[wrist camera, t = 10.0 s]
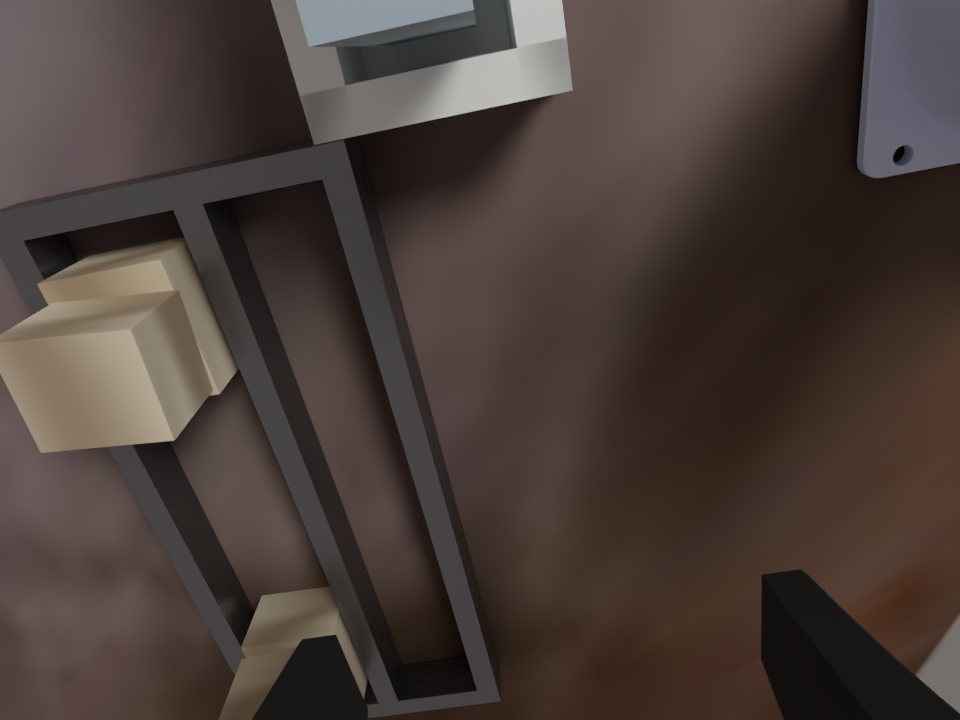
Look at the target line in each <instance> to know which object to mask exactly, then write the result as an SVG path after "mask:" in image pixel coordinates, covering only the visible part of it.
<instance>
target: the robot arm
mask: <svg viewBox="0 0 960 720" xmlns="http://www.w3.org/2000/svg"><path fill="white" fill-rule="evenodd" d="M901 146H904V150H905V152H904V155H903V157H902V158H901V159H900V160H899V161H898V162H895V163H894V162H893V155H894V152H895V151H896V150H897V149H898V148H899V147H901ZM957 163H960V0H868V12H867V26H866V40H865V54H864V68H863V82H862V96H861V110H860V124H859V138H858V152H857V165H858V169H859V170H860V172H861V173H862V174H864V175H866V176H869V177H872V178H884V177H889V176H894V175H899V174H905V173H910V172H915V171H920V170H926V169H931V168H936V167H941V166H947V165H952V164H957ZM761 660H762V662H763V665H764V668H765V671H766V673H767V676H768V679H769V681H770V684H771V687H772V690H773V692H774V695H775V697H776V700H777V703H778V705H779V708H780V710H781V713H782V715H783V718H784V720H960V714H959V713H958V712H957V711H956V710H955V709H954V708H952V707H951V706H950V705H949V704H948V703H946V702H945V701H944V700H943V699H942V698H940V697H939V696H938V695H937V694H936V693H935V692H934V691H932V690H931V689H930V688H929V687H928V686H927V685H926V684H924V683H923V682H922V681H921V680H920V679H919V678H918V677H917V676H915V675H914V674H913V673H912V672H911V671H910V670H909V669H907V668H906V667H905V666H904V665H903V664H902V663H901V662H899V661H898V660H897V659H896V658H895V657H894V656H893V655H892V654H891V653H889V652H888V651H887V650H886V649H885V648H884V647H883V646H882V645H881V644H880V643H878V642H877V641H876V640H875V639H874V638H873V637H872V636H871V635H870V634H869V633H868V632H867V631H866V630H864V629H863V628H862V627H861V626H860V625H859V624H858V623H857V622H856V621H855V620H854V619H853V618H852V617H851V616H850V615H849V614H848V613H846V612H845V611H844V610H843V609H842V608H841V607H840V606H839V605H838V604H837V603H836V602H835V601H834V600H833V599H832V598H831V597H830V596H829V595H828V594H827V593H826V592H825V591H824V590H823V589H822V588H821V587H820V586H819V585H818V584H817V583H816V582H815V581H814V580H813V579H812V578H811V577H810V576H809V575H808V574H806V573H805V572H804V571H802V570H801V569H800V570H793V571H785V572H778V573H771V574H764V575H762V626H761ZM252 720H368V708H367V706H366V703H365V701H364V699H363V696H362V694H361V692H360V689H359V687H358V685H357V682H356V680H355V678H354V675H353V673H352V671H351V668H350V666H349V664H348V661H347V659H346V657H345V654H344V652H343V650H342V647H341V645H340V643H339V641H338V638H337V636H336V635H329V636H322V637H314V638H307V639H302V640H301V642H300V643H299V644H298V646H297V647H296V649H295V650H294V652H293V654H292V655H291V657H290V658H289V660H288V662H287V663H286V665H285V667H284V668H283V670H282V671H281V673H280V675H279V676H278V678H277V680H276V681H275V683H274V684H273V686H272V688H271V689H270V691H269V693H268V694H267V696H266V697H265V699H264V701H263V702H262V704H261V705H260V707H259V709H258V710H257V712H256V713H255V715H254V716H253V718H252Z"/></svg>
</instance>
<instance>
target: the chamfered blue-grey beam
mask: <svg viewBox="0 0 960 720" xmlns="http://www.w3.org/2000/svg"><path fill="white" fill-rule="evenodd" d="M296 4H297V7H298V11H299V14H300V18H301V21H302V25H303V28H304V32H305V35H306V39H307V42H308V46H309V47H346V46H391V45H395V44H400V43H404V42H408V41H413V40H417V39H422V38H426V37H431V36H435V35H440V34H444V33H449V32H453V31H458V30H462V29H467V28H471V27H476V26H477V24H476V18H475V12H474V6H473V0H296Z"/></svg>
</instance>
